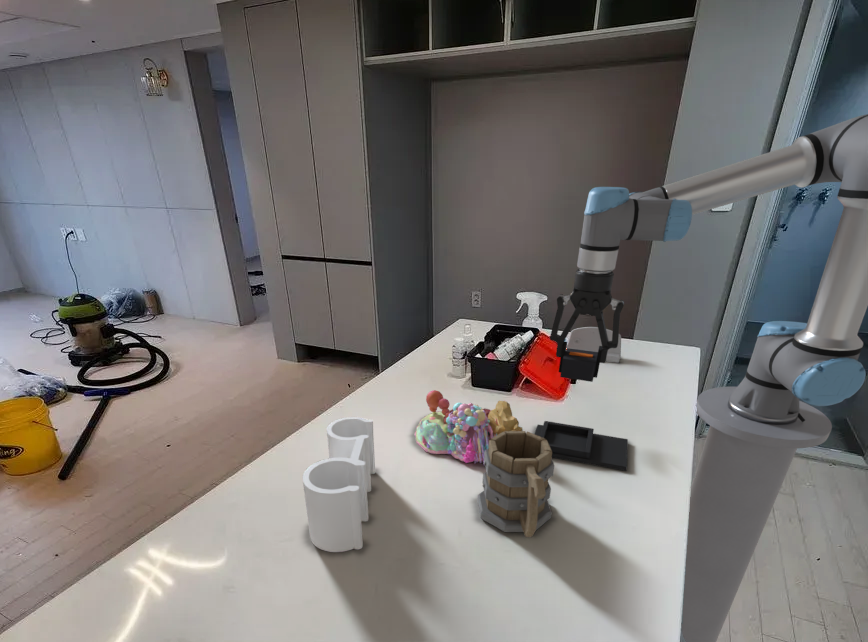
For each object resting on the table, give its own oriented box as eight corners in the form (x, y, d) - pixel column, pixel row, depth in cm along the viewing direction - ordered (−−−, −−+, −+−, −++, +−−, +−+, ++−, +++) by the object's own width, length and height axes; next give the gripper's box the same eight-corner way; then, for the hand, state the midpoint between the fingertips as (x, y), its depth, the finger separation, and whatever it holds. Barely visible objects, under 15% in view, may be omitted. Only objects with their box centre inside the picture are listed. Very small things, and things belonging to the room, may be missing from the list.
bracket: (333, 467, 106) (328, 416, 100) (379, 468, 106) (377, 417, 100) (303, 551, 84) (294, 492, 79) (361, 553, 84) (357, 494, 78)
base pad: (626, 442, 114) (629, 433, 113) (626, 471, 105) (628, 460, 103) (537, 427, 121) (538, 418, 119) (528, 453, 111) (529, 443, 109)
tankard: (475, 489, 99) (479, 422, 92) (539, 489, 99) (549, 421, 92) (488, 563, 82) (495, 487, 74) (567, 562, 82) (581, 486, 74)
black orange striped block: (595, 370, 118) (598, 350, 115) (592, 381, 112) (596, 361, 110) (564, 366, 120) (567, 346, 117) (560, 377, 114) (563, 357, 112)
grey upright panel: (563, 356, 160) (569, 324, 159) (564, 356, 165) (569, 324, 163) (620, 362, 155) (626, 329, 154) (619, 362, 160) (625, 330, 158)
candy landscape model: (513, 412, 127) (516, 379, 123) (534, 464, 107) (539, 426, 102) (413, 414, 127) (413, 380, 122) (415, 467, 106) (415, 428, 102)
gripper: (647, 270, 104) (625, 373, 116) (549, 262, 111) (537, 360, 122) (647, 277, 98) (623, 385, 109) (543, 269, 105) (531, 372, 116)
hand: (578, 372), depth 116 cm, fingers closed on black orange striped block, 7 cm apart
